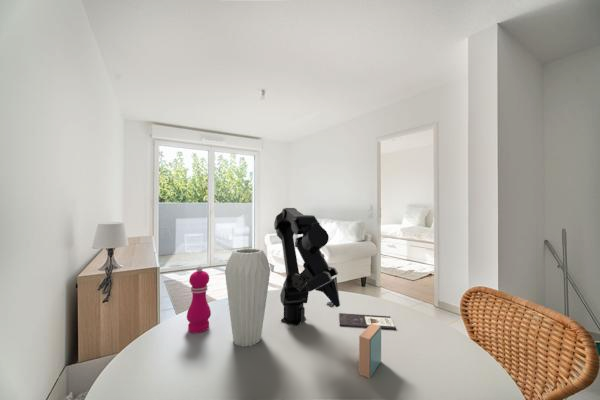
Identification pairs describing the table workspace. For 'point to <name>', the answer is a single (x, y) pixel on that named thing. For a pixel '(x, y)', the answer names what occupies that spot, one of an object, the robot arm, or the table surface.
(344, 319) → the chocolate bar
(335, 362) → the table surface
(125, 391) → the table surface
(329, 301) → the blueberries
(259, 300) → the vase
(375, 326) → the block
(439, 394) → the table surface
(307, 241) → the robot arm
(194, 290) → the pepper mill
